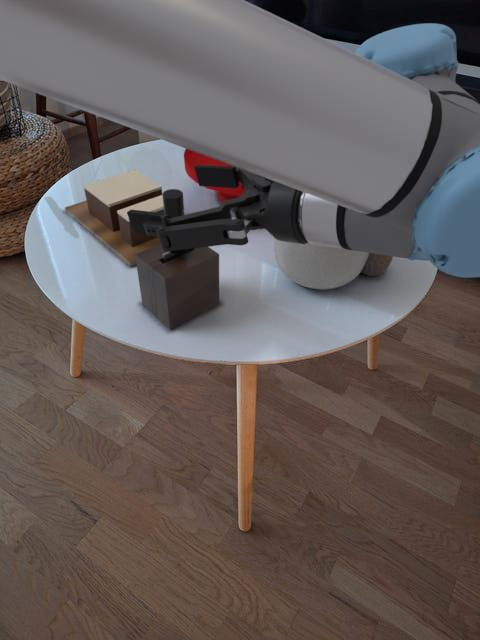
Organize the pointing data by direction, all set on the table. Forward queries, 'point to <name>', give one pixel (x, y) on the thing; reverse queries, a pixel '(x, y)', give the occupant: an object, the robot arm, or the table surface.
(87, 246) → the table surface
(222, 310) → the table surface
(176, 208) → the knife
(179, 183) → the table surface
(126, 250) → the cake board
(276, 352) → the table surface
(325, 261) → the planter
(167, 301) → the knife block
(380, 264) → the vase
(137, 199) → the cake
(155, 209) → the cake slice
